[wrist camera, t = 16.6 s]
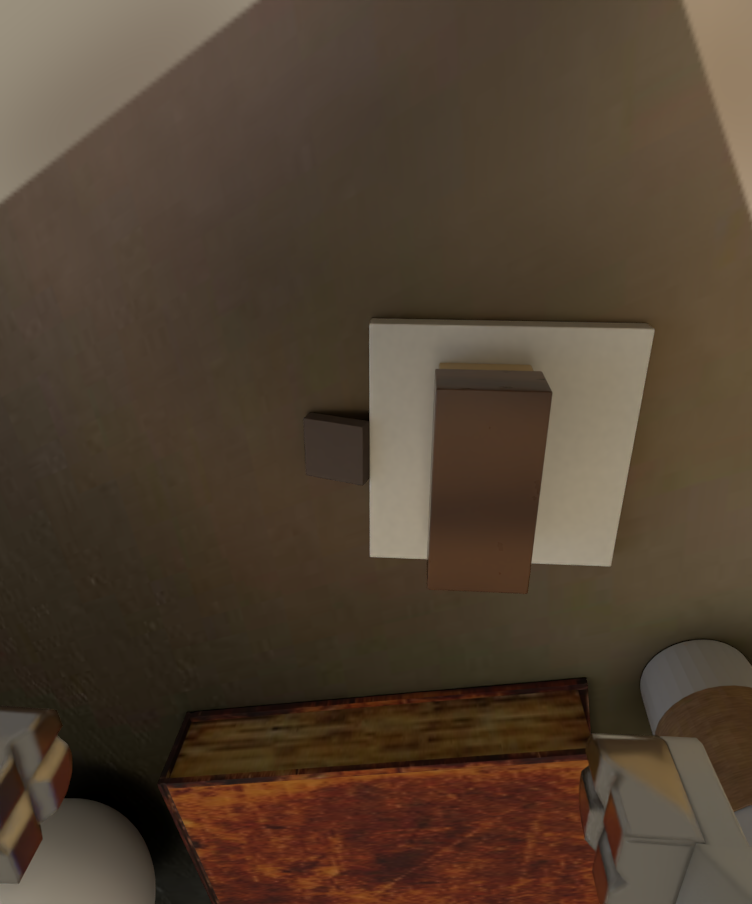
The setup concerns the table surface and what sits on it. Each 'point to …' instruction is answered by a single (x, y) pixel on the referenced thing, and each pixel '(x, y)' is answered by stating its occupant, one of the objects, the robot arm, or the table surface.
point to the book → (389, 798)
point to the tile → (569, 432)
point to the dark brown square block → (337, 448)
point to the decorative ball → (86, 860)
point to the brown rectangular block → (485, 475)
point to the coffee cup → (707, 711)
